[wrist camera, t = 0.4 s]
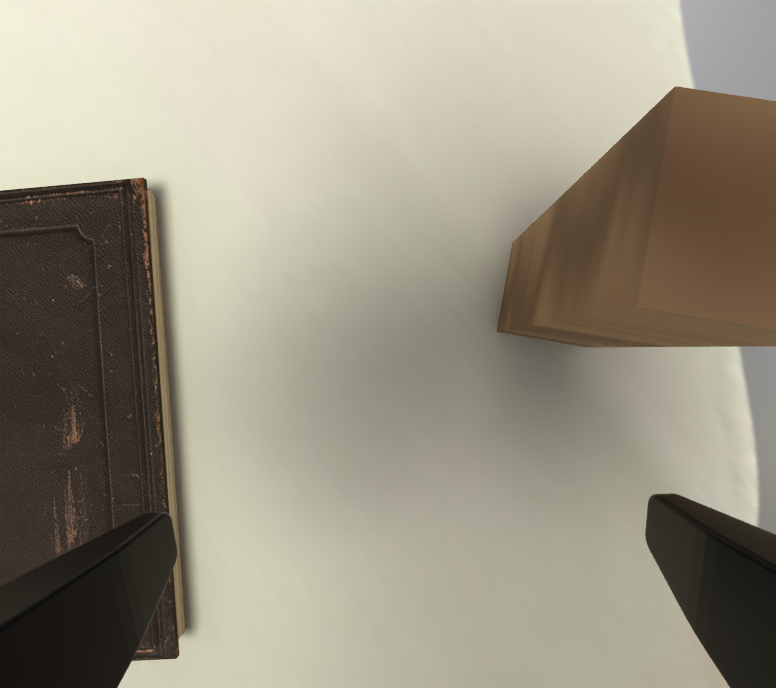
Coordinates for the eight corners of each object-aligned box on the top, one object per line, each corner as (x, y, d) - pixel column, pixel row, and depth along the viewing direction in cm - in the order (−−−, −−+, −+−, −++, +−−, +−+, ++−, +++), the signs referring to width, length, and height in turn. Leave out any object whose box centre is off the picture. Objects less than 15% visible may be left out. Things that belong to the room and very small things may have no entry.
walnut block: (586, 347, 21) (866, 346, 8) (497, 331, 22) (636, 306, 9) (602, 258, 21) (905, 121, 8) (512, 243, 22) (674, 86, 9)
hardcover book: (168, 194, 23) (142, 177, 21) (198, 627, 23) (175, 659, 20) (-119, 219, 24) (-176, 206, 21) (-93, 643, 23) (-147, 676, 21)
